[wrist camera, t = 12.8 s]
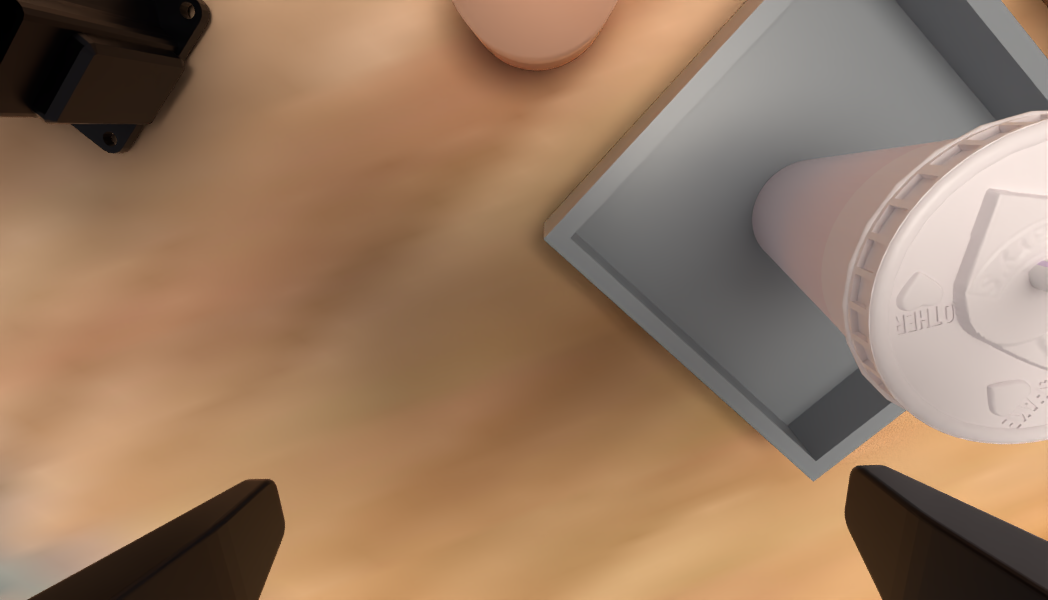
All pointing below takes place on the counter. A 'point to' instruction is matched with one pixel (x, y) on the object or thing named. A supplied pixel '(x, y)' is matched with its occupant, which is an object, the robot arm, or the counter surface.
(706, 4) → the counter surface
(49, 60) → the robot arm
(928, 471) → the counter surface
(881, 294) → the smoothie
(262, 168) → the counter surface
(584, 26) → the brown short cylinder
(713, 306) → the tray
